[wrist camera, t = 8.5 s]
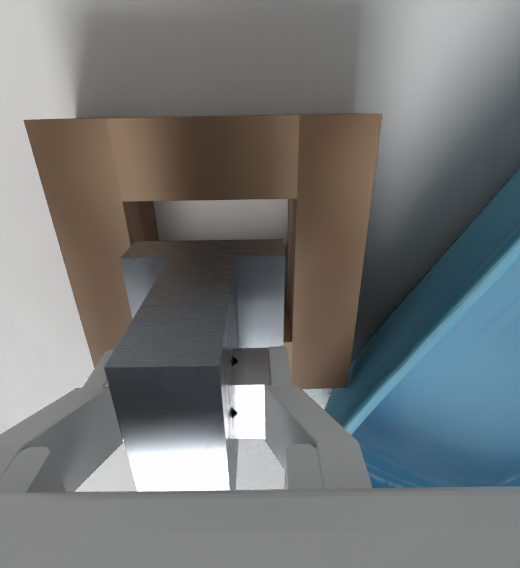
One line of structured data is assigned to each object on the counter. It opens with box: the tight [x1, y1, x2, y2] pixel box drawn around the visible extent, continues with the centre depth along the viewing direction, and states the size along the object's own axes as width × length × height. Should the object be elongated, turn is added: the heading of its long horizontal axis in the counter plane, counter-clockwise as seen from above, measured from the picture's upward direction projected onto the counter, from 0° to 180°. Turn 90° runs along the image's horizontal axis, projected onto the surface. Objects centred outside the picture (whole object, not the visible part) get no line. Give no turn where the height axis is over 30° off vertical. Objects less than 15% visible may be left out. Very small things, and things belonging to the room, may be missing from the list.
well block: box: [24, 114, 382, 389], centre depth 17 cm, size 13×13×4 cm
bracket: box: [104, 239, 285, 491], centre depth 10 cm, size 5×5×6 cm
